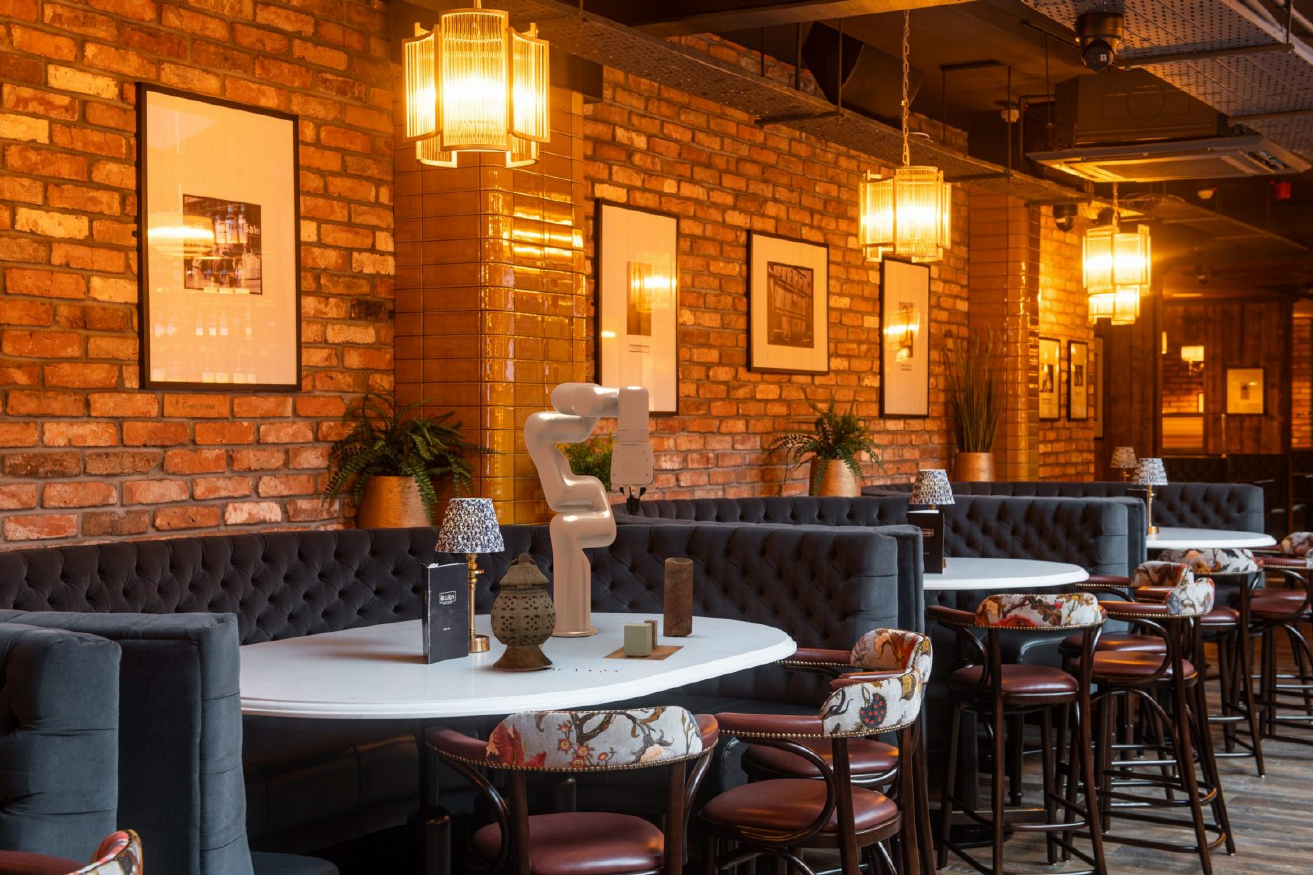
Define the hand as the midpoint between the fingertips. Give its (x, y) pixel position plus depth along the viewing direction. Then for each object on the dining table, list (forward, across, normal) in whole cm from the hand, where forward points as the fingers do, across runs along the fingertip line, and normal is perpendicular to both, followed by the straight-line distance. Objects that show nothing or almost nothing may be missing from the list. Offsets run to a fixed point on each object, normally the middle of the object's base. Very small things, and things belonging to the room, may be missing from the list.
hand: (633, 514), depth 328 cm
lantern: (+32, -17, -31) cm, 48 cm away
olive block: (+31, +5, -15) cm, 35 cm away
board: (+32, +5, -9) cm, 34 cm away
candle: (+32, +6, +22) cm, 40 cm away
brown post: (+31, +5, -3) cm, 32 cm away
